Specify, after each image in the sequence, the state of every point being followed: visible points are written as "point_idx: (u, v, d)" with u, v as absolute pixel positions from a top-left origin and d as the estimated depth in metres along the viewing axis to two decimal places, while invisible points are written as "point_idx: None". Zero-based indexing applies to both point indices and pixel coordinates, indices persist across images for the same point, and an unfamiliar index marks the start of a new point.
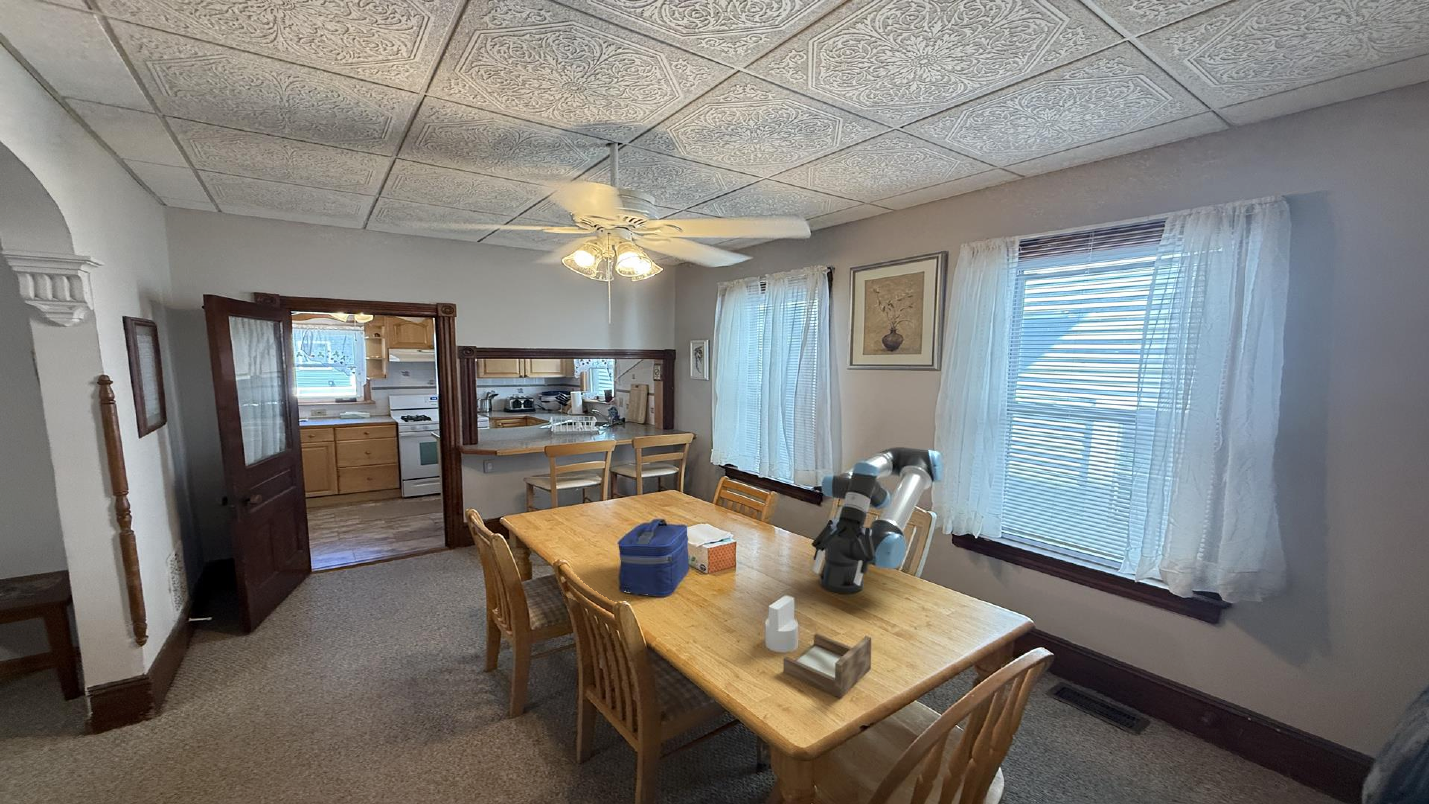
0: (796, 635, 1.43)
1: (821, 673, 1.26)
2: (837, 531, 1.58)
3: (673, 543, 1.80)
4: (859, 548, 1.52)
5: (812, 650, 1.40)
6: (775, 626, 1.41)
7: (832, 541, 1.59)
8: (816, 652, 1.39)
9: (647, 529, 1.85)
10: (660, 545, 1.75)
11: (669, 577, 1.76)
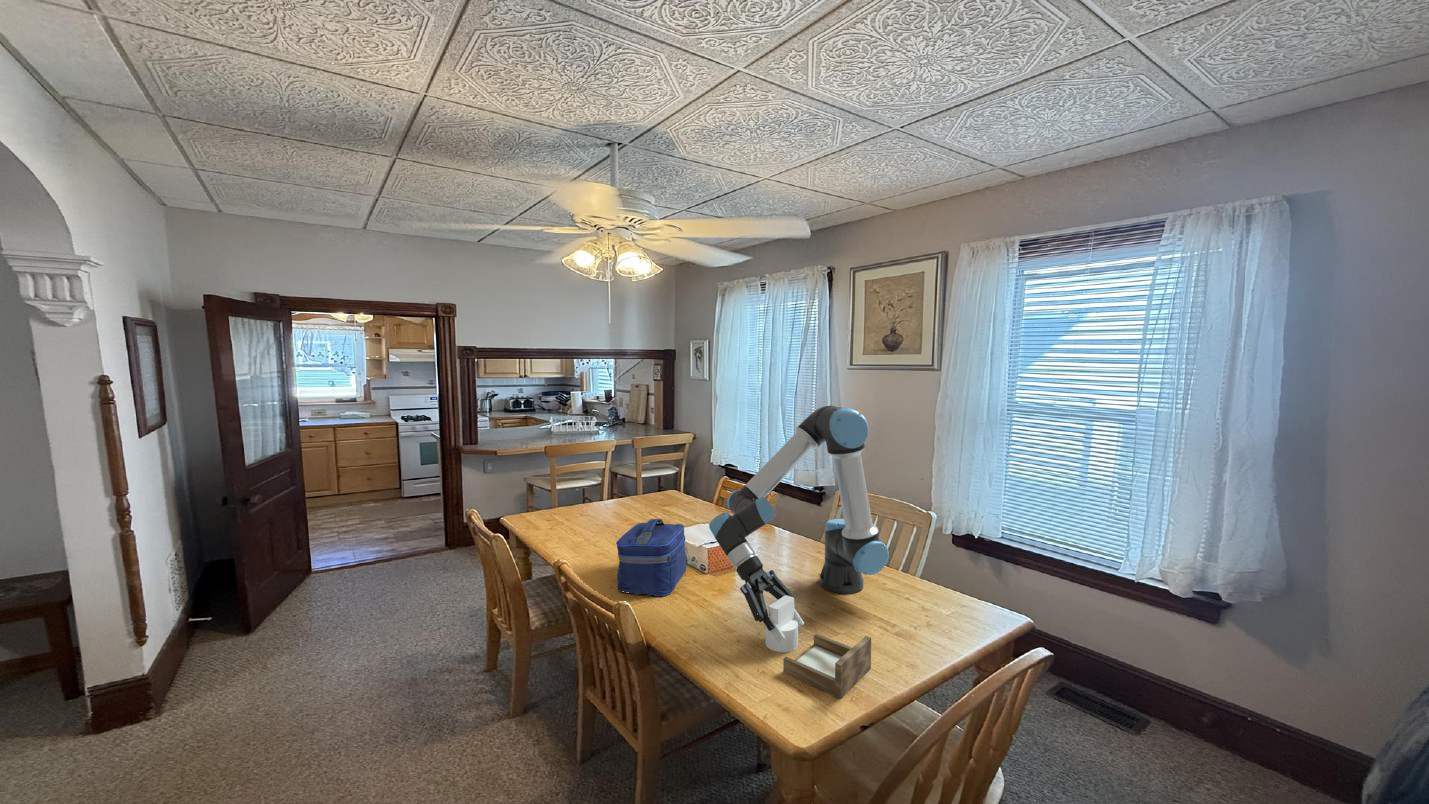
0: (796, 635, 1.43)
1: (821, 673, 1.26)
2: None
3: (672, 542, 1.80)
4: None
5: (812, 650, 1.40)
6: None
7: (775, 592, 1.50)
8: (816, 652, 1.39)
9: (645, 529, 1.85)
10: (659, 545, 1.75)
11: (668, 576, 1.77)
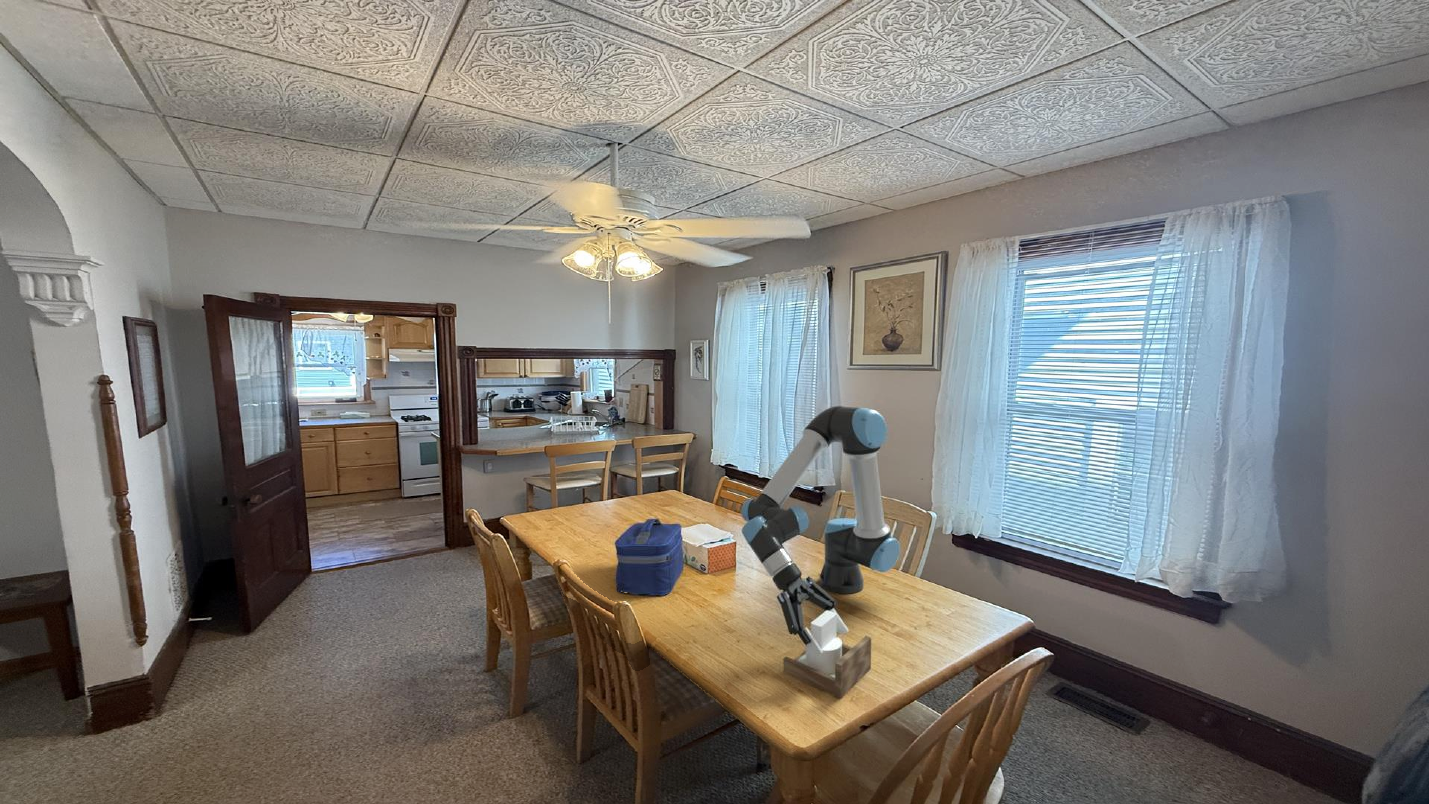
0: (840, 654, 1.31)
1: (821, 673, 1.26)
2: None
3: (670, 542, 1.81)
4: None
5: None
6: None
7: (816, 600, 1.39)
8: None
9: (643, 529, 1.85)
10: (658, 544, 1.75)
11: (668, 576, 1.77)
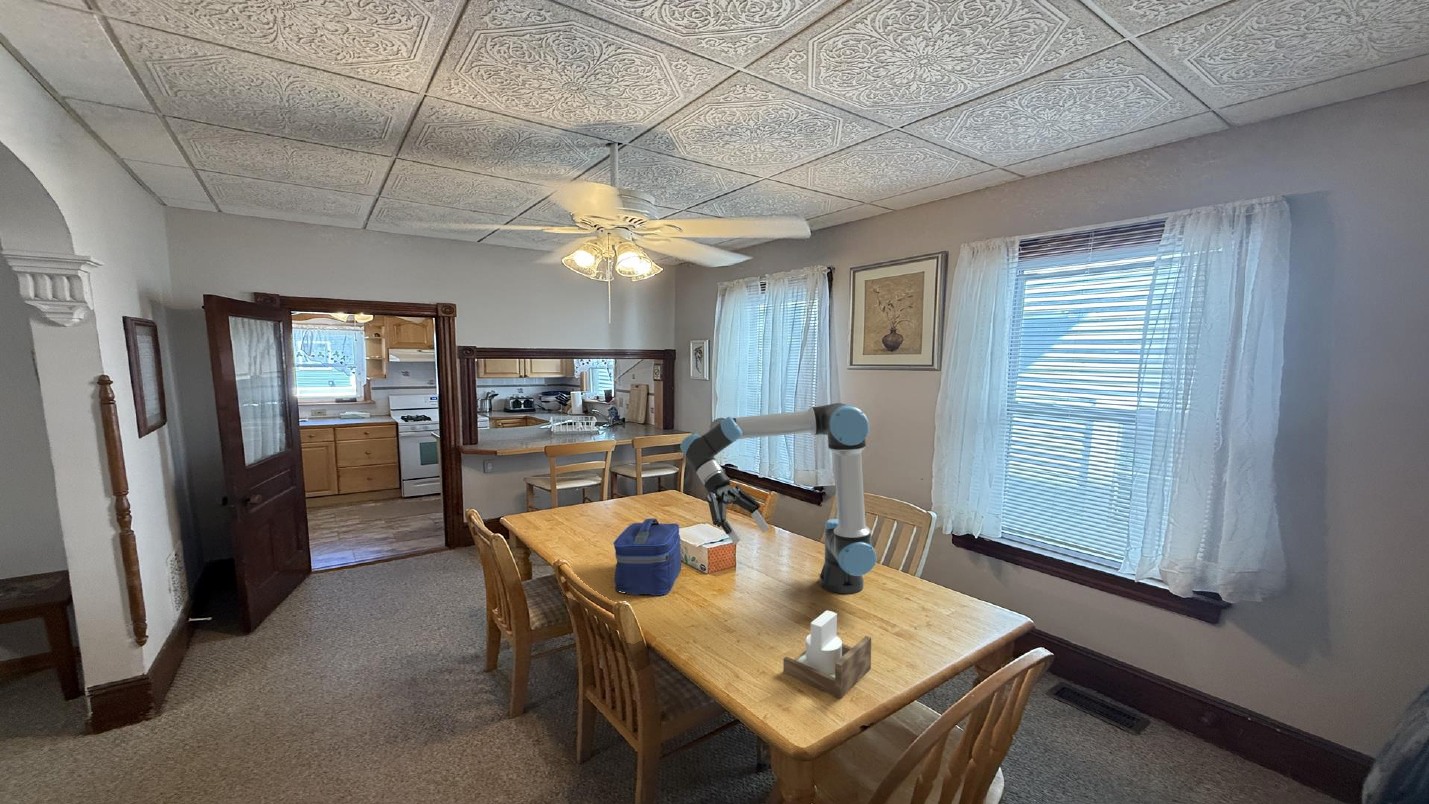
0: (840, 654, 1.31)
1: (821, 673, 1.26)
2: None
3: (669, 542, 1.81)
4: None
5: None
6: (818, 645, 1.29)
7: (742, 503, 1.60)
8: None
9: (642, 529, 1.85)
10: (658, 544, 1.76)
11: (667, 575, 1.78)
